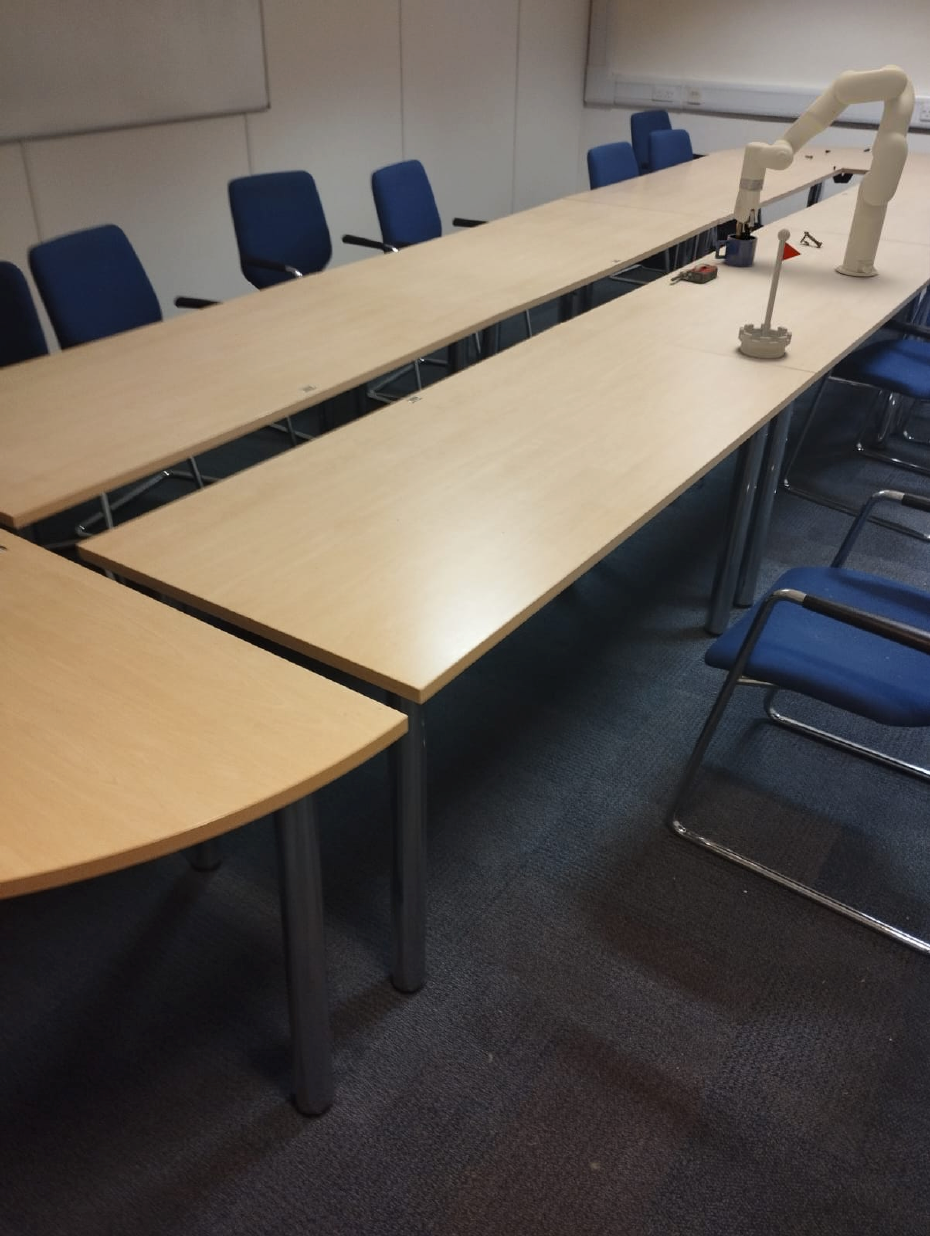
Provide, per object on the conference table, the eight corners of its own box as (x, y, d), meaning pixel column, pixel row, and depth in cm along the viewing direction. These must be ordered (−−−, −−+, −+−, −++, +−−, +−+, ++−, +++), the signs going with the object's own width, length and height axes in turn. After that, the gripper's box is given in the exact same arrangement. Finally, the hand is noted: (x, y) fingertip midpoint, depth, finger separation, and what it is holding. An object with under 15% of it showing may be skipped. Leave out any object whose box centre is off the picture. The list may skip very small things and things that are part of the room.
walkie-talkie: (694, 271, 320) (667, 284, 306) (696, 257, 317) (669, 269, 303) (719, 275, 315) (693, 288, 302) (721, 261, 313) (695, 274, 299)
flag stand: (727, 352, 250) (748, 229, 234) (748, 340, 259) (770, 220, 243) (775, 363, 244) (800, 237, 227) (796, 350, 252) (821, 228, 236)
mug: (747, 259, 335) (751, 233, 330) (757, 266, 327) (762, 240, 322) (709, 260, 334) (713, 233, 329) (718, 267, 325) (722, 240, 321)
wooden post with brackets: (799, 240, 358) (806, 229, 354) (816, 253, 355) (823, 242, 352) (797, 240, 357) (804, 229, 353) (813, 253, 354) (820, 242, 351)
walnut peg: (747, 246, 326) (751, 224, 322) (737, 246, 326) (741, 224, 322) (744, 243, 329) (747, 222, 325) (734, 244, 328) (738, 222, 324)
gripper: (731, 179, 323) (722, 237, 333) (749, 189, 309) (738, 249, 320) (753, 180, 324) (743, 237, 334) (771, 189, 310) (760, 249, 320)
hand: (741, 242), depth 327 cm, fingers closed on walnut peg, 3 cm apart
